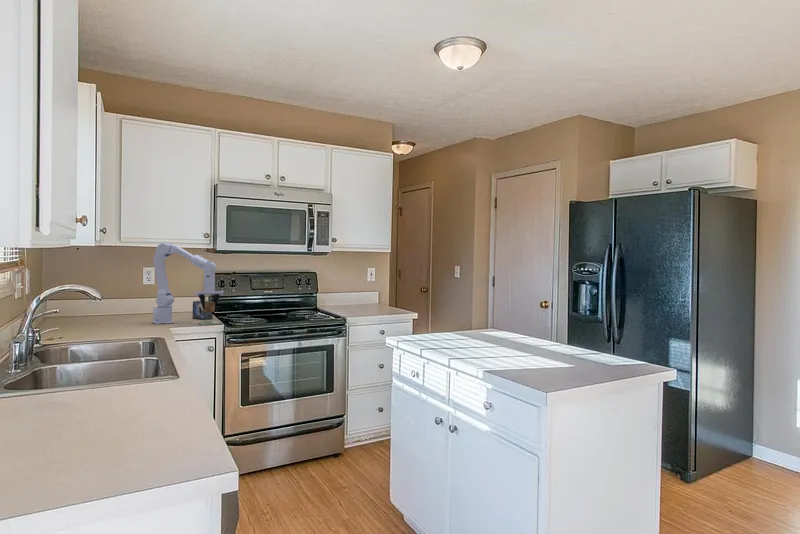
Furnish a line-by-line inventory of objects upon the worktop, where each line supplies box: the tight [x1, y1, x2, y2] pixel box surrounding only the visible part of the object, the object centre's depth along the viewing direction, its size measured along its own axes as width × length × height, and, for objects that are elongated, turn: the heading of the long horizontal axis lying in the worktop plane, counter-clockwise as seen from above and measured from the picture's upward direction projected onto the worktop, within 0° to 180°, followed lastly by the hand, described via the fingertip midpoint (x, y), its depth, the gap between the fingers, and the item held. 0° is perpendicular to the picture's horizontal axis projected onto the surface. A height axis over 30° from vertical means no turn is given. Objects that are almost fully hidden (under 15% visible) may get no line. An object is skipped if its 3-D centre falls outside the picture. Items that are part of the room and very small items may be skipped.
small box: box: [192, 300, 213, 321], centre depth 289 cm, size 11×6×10 cm, turn 62°
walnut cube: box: [203, 301, 216, 313], centre depth 270 cm, size 5×5×5 cm
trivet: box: [198, 320, 221, 326], centre depth 270 cm, size 9×9×1 cm
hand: (208, 308), depth 270 cm, fingers closed on walnut cube, 5 cm apart
